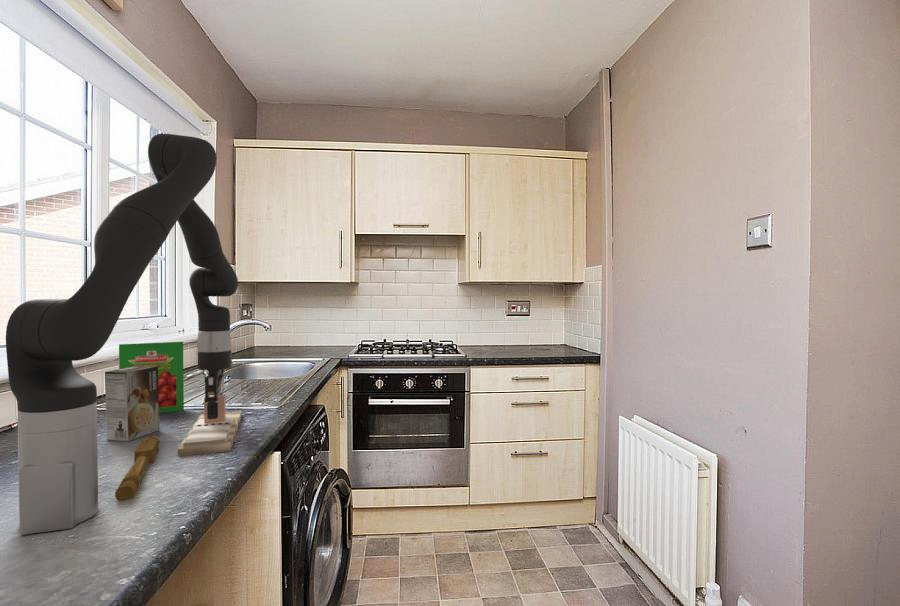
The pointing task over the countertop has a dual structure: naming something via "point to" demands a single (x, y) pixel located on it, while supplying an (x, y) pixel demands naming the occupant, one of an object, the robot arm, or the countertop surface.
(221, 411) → the stub
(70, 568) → the countertop surface
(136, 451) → the tap handle
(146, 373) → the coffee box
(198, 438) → the board
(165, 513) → the countertop surface
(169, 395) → the tomato puree packet
